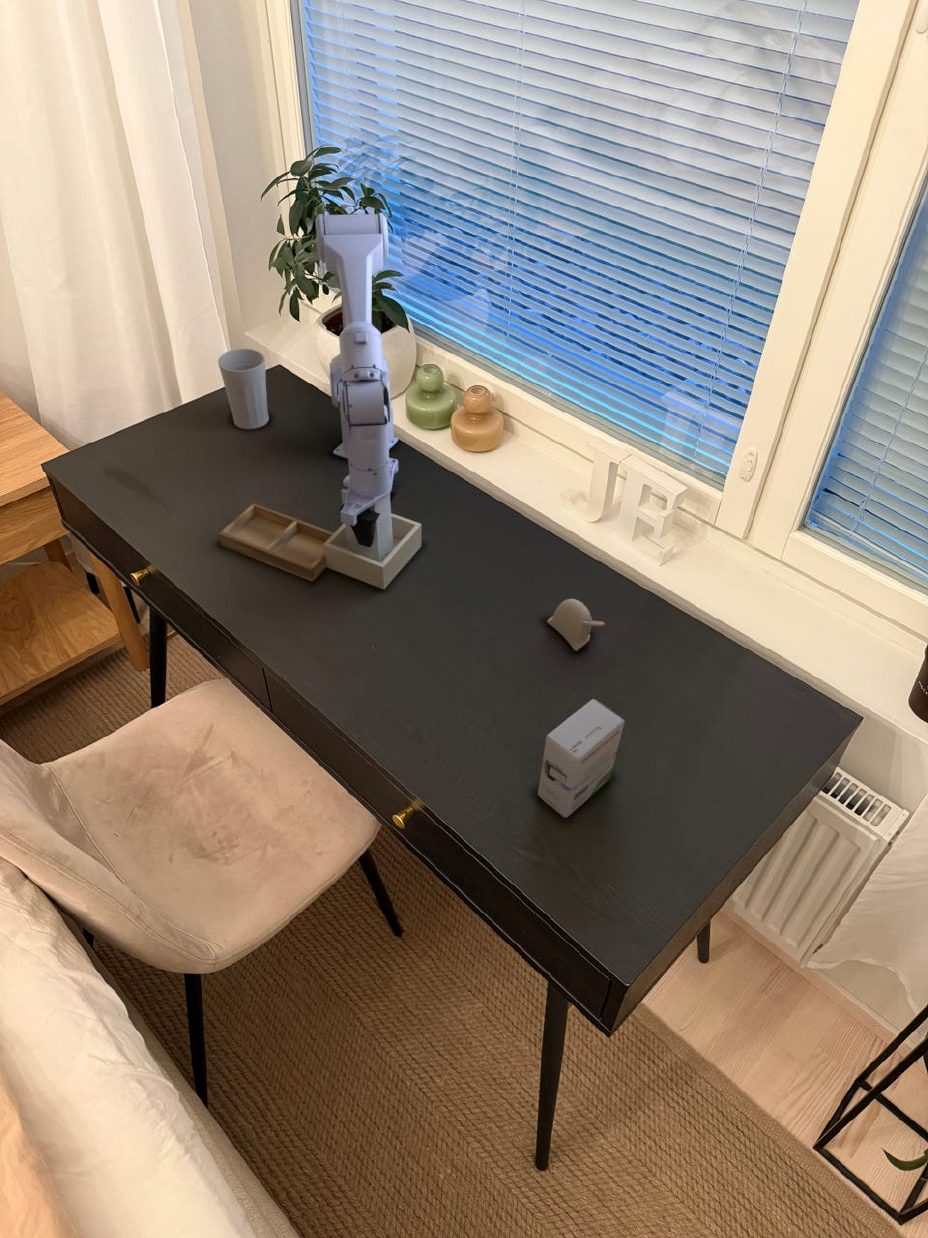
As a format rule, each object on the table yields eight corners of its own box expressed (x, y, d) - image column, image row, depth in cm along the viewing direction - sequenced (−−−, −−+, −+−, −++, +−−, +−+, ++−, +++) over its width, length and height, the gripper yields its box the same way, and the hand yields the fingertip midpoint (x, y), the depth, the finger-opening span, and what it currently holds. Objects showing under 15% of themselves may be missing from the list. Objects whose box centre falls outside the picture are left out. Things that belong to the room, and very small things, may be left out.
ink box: (581, 755, 112) (593, 694, 104) (611, 779, 110) (627, 719, 102) (535, 794, 108) (544, 734, 100) (566, 820, 106) (577, 761, 97)
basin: (364, 525, 143) (363, 503, 140) (421, 546, 140) (421, 523, 137) (325, 566, 136) (322, 544, 133) (383, 589, 133) (382, 567, 129)
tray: (255, 514, 144) (253, 502, 143) (344, 548, 139) (343, 536, 137) (221, 545, 139) (218, 533, 137) (312, 581, 133) (311, 569, 132)
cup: (222, 428, 161) (211, 368, 153) (237, 405, 167) (227, 346, 158) (265, 433, 160) (256, 373, 152) (278, 410, 166) (270, 350, 158)
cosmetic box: (394, 551, 138) (393, 487, 130) (378, 567, 135) (375, 502, 127) (361, 538, 140) (357, 474, 132) (345, 553, 137) (340, 489, 129)
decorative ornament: (568, 611, 131) (572, 584, 127) (604, 647, 126) (609, 620, 122) (546, 621, 129) (549, 594, 125) (581, 658, 124) (586, 631, 120)
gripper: (366, 426, 131) (370, 500, 140) (318, 480, 121) (326, 555, 131) (410, 437, 129) (411, 512, 139) (364, 493, 120) (369, 569, 129)
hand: (372, 534), depth 135 cm, fingers closed on cosmetic box, 4 cm apart
